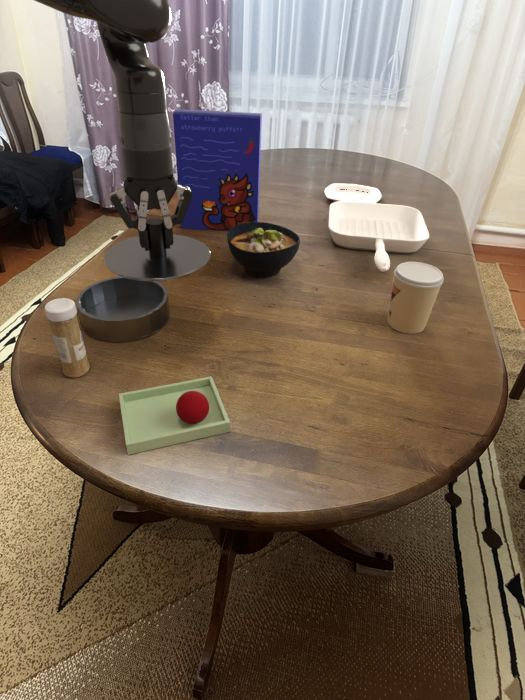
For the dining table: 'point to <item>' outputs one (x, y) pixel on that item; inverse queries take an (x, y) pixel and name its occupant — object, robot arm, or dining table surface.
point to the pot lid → (157, 256)
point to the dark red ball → (192, 407)
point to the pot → (123, 309)
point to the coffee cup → (413, 296)
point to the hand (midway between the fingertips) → (157, 247)
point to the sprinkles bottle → (67, 336)
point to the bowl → (262, 247)
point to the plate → (352, 193)
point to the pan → (377, 228)
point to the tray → (168, 415)
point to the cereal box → (218, 166)
